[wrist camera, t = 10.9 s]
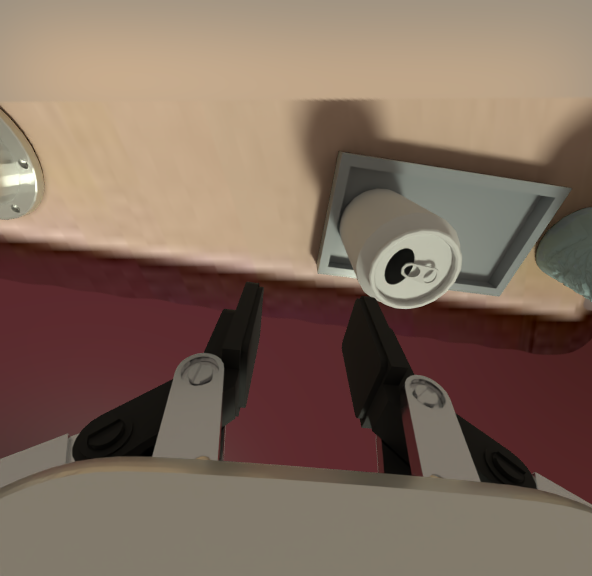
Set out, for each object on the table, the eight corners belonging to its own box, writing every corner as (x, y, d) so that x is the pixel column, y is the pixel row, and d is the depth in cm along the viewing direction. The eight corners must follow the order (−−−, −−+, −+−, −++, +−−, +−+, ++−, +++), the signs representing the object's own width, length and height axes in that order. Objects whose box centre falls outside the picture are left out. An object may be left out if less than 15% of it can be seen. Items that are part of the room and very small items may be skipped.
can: (351, 178, 25) (387, 207, 15) (419, 196, 26) (499, 234, 15) (329, 247, 29) (346, 307, 18) (390, 260, 29) (438, 325, 19)
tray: (316, 264, 31) (317, 273, 29) (338, 151, 25) (342, 152, 22) (486, 285, 32) (499, 296, 30) (549, 184, 26) (572, 188, 24)
